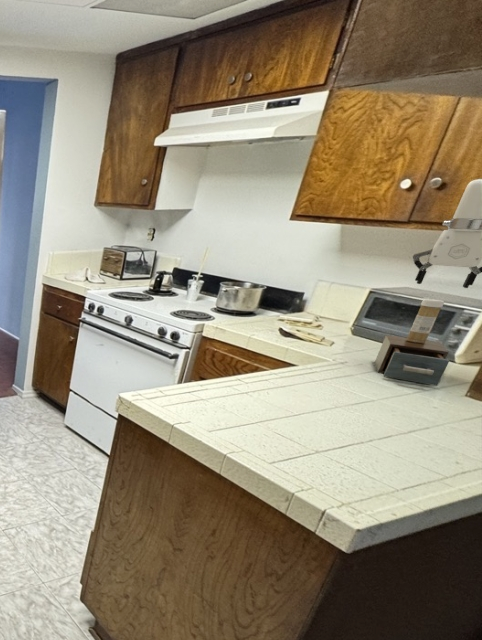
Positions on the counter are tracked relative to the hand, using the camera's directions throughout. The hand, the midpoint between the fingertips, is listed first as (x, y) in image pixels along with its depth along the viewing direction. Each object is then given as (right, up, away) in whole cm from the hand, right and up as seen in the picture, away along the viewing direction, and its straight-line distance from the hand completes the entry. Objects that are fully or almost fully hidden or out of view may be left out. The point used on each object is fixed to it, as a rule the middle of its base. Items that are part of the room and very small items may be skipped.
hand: (441, 285), depth 142 cm
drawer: (-7, -28, +3) cm, 29 cm away
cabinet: (0, -26, +11) cm, 28 cm away
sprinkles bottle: (+1, -16, +8) cm, 18 cm away
